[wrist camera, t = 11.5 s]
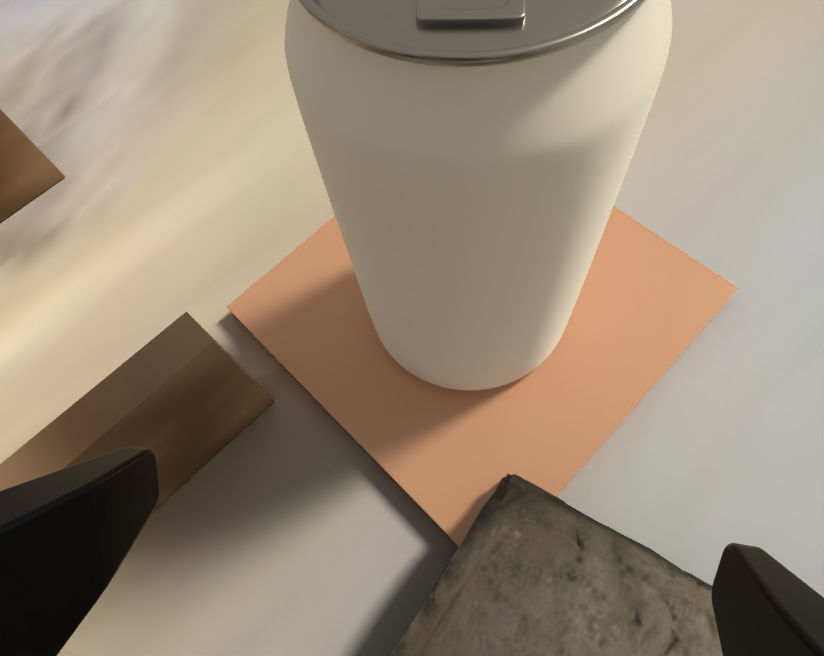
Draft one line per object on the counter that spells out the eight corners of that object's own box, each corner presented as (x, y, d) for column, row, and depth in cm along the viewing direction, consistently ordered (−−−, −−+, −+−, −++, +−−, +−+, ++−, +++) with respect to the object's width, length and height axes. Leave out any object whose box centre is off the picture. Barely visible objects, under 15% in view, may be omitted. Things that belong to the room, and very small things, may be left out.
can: (565, 224, 20) (686, -215, 9) (570, 401, 17) (749, 84, 6) (382, 219, 21) (292, -193, 10) (360, 389, 18) (202, 85, 7)
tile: (486, 575, 16) (487, 574, 15) (233, 314, 20) (226, 306, 20) (730, 296, 19) (738, 288, 18) (464, 119, 23) (464, 107, 23)
